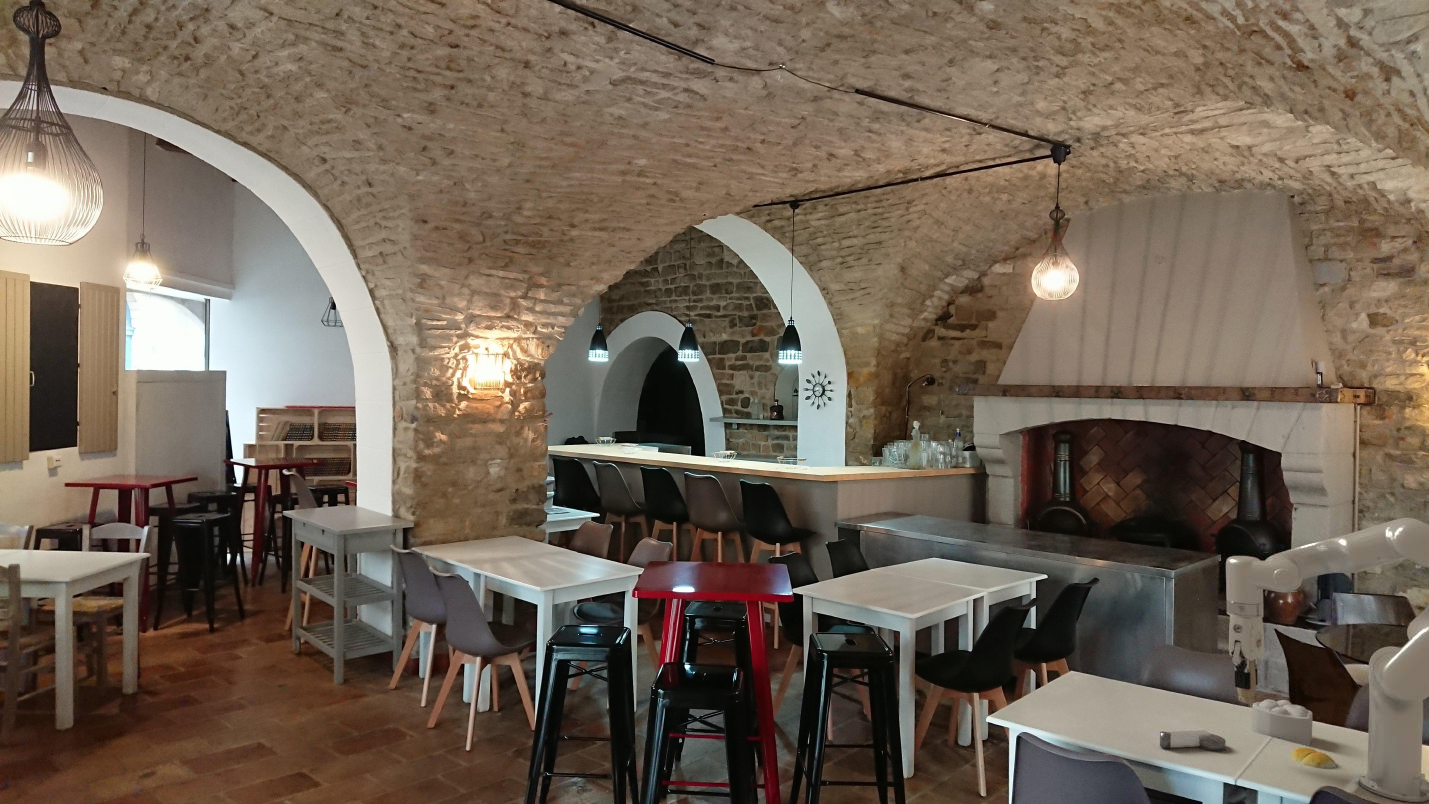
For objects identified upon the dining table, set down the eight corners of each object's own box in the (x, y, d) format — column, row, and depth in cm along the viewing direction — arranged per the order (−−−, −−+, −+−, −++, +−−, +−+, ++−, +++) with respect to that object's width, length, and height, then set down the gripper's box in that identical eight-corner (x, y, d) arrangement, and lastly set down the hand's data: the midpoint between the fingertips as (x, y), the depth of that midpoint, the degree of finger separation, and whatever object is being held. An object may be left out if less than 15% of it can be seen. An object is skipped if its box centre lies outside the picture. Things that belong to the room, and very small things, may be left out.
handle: (1261, 707, 209) (1260, 642, 209) (1230, 702, 213) (1228, 639, 213) (1263, 701, 213) (1261, 638, 213) (1232, 696, 217) (1230, 634, 217)
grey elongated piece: (1211, 739, 223) (1211, 725, 223) (1232, 750, 217) (1232, 736, 217) (1151, 742, 221) (1151, 728, 221) (1170, 753, 214) (1170, 738, 214)
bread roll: (1309, 758, 217) (1309, 741, 217) (1342, 773, 209) (1343, 756, 209) (1281, 760, 215) (1281, 743, 215) (1314, 775, 207) (1314, 758, 207)
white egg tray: (1308, 749, 223) (1309, 714, 223) (1248, 736, 231) (1249, 702, 231) (1313, 738, 231) (1314, 704, 231) (1254, 725, 239) (1255, 692, 239)
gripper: (1249, 616, 205) (1251, 697, 204) (1274, 606, 216) (1275, 682, 216) (1214, 611, 210) (1215, 689, 210) (1240, 601, 221) (1241, 675, 221)
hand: (1246, 685), depth 213 cm, fingers closed on handle, 3 cm apart
